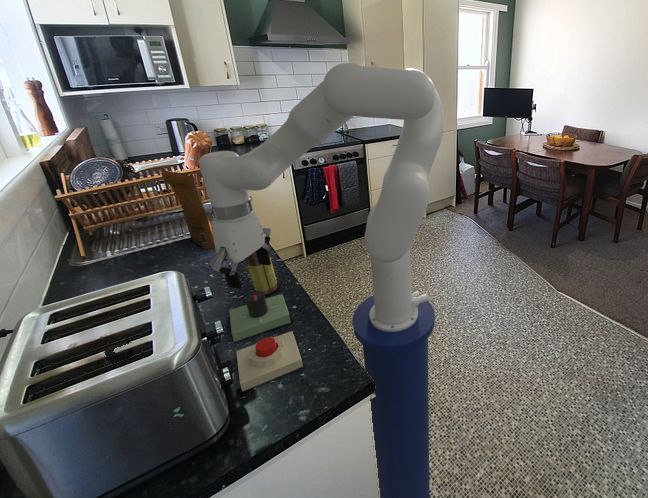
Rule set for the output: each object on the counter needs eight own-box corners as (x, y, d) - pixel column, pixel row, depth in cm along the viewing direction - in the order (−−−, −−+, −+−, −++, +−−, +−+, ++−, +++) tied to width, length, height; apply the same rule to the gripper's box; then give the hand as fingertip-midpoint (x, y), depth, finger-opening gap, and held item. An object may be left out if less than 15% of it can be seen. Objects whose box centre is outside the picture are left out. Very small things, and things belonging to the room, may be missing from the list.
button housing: (293, 337, 83) (290, 324, 82) (303, 366, 75) (300, 352, 74) (238, 358, 78) (234, 344, 76) (242, 391, 70) (237, 377, 68)
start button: (275, 340, 78) (273, 334, 77) (278, 352, 74) (276, 346, 74) (256, 347, 76) (254, 341, 75) (258, 360, 73) (256, 353, 72)
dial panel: (283, 301, 96) (282, 293, 95) (290, 322, 88) (289, 314, 87) (231, 317, 90) (229, 309, 89) (234, 342, 82) (231, 333, 81)
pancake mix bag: (205, 254, 120) (182, 178, 109) (181, 240, 130) (157, 168, 119) (225, 246, 125) (204, 172, 114) (200, 233, 135) (179, 163, 124)
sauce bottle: (273, 280, 105) (260, 222, 97) (281, 290, 101) (268, 229, 93) (250, 290, 101) (235, 229, 93) (258, 299, 97) (242, 237, 89)
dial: (248, 310, 89) (243, 293, 87) (266, 304, 91) (262, 287, 89) (250, 320, 85) (245, 302, 83) (269, 313, 88) (265, 296, 85)
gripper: (247, 193, 84) (263, 254, 90) (184, 224, 68) (208, 295, 75) (274, 196, 82) (287, 258, 88) (214, 228, 66) (236, 300, 73)
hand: (251, 275), depth 82 cm, fingers open, 9 cm apart
